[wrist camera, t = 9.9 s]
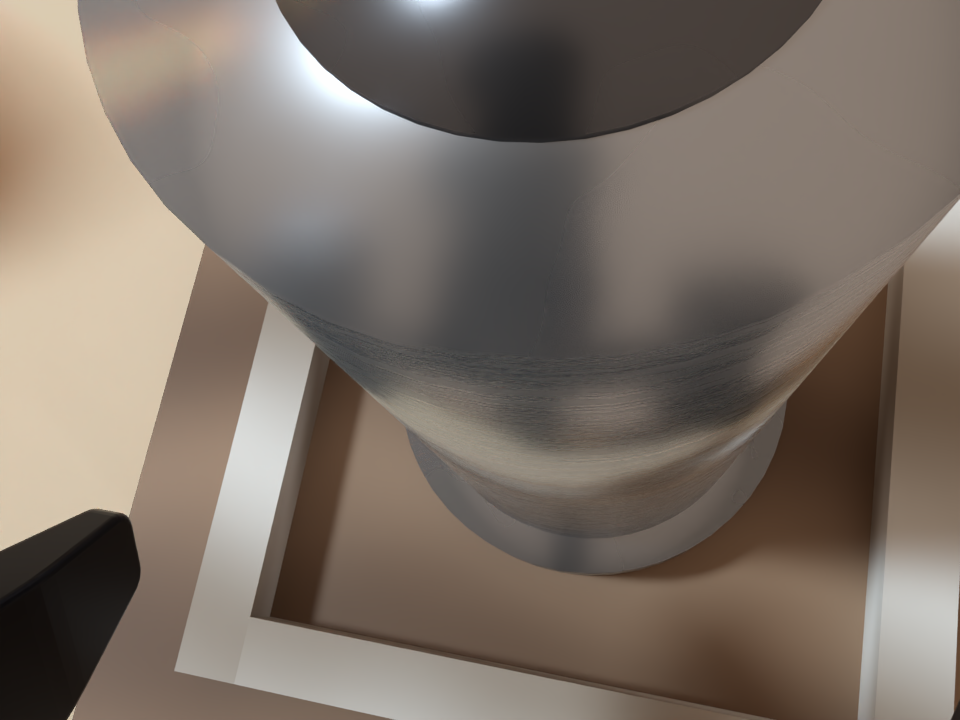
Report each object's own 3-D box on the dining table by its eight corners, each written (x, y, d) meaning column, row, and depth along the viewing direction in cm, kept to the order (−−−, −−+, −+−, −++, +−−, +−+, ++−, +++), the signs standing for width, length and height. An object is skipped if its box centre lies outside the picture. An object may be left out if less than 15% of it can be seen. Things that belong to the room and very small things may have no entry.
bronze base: (1029, 980, 15) (1108, 1049, 13) (101, 754, 18) (26, 776, 16) (1050, 77, 20) (1111, 3, 17) (298, 22, 23) (263, -47, 20)
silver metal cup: (784, 583, 16) (1387, 493, 4) (402, 568, 17) (-135, 458, 5) (766, 223, 18) (1122, -633, 6) (424, 229, 19) (84, -482, 7)
